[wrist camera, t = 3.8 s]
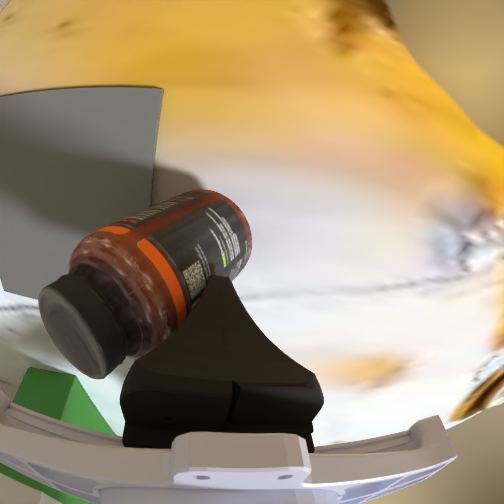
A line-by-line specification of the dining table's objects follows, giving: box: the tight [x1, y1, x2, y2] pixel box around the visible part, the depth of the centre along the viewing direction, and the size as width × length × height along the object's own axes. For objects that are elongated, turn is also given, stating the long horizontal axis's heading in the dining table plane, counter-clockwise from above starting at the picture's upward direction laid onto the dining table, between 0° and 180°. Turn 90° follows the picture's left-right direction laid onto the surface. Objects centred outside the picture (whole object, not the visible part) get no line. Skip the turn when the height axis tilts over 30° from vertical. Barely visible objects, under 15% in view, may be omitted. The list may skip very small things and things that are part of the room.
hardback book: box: [0, 367, 117, 504], centre depth 20 cm, size 18×7×24 cm, turn 179°
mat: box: [0, 87, 164, 300], centre depth 17 cm, size 17×15×1 cm
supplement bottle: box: [38, 190, 252, 379], centre depth 14 cm, size 6×6×11 cm
